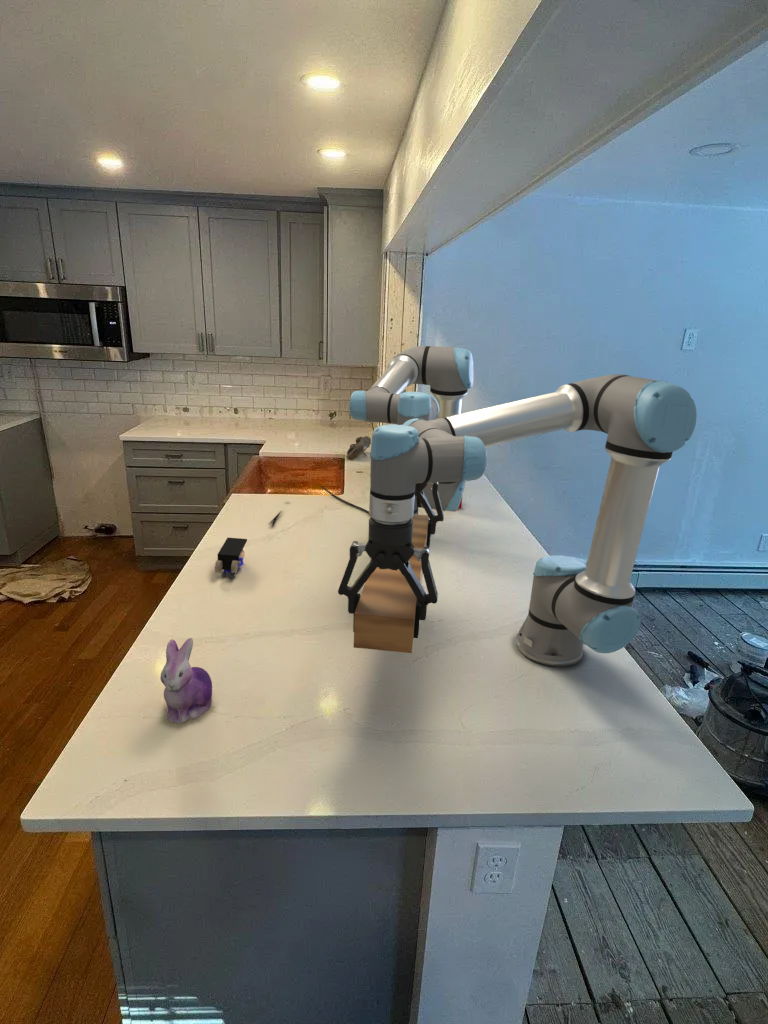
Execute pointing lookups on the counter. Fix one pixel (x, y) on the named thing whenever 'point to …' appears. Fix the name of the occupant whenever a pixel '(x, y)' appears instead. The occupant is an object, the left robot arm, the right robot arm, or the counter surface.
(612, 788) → the counter surface
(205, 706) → the figurine
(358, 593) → the right robot arm
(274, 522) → the feather
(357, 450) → the fossil
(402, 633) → the thick board
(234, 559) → the figurine character
